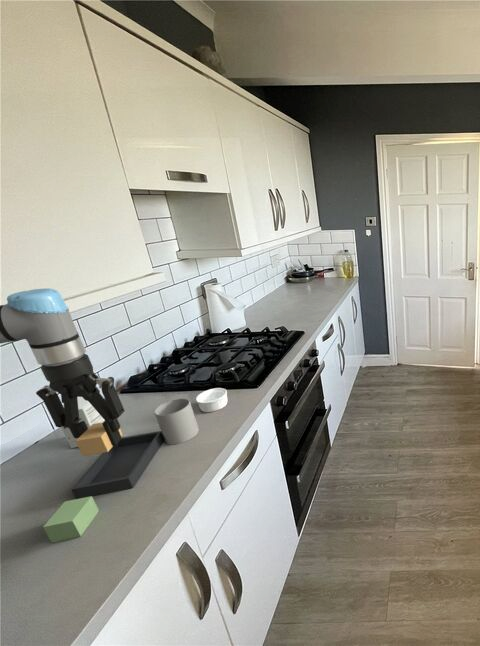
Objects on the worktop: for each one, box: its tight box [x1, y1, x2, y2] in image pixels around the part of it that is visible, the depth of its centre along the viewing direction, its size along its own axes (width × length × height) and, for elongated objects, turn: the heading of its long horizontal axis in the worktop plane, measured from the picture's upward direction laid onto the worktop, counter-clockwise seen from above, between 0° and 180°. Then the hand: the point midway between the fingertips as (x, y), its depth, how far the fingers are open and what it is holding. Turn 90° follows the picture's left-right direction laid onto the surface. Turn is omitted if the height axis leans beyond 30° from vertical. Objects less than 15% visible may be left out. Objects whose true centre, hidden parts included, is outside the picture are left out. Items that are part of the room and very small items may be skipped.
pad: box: [42, 496, 100, 543], centre depth 75 cm, size 5×6×4 cm
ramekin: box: [195, 387, 229, 413], centre depth 116 cm, size 9×9×4 cm
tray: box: [70, 430, 165, 499], centre depth 91 cm, size 12×19×3 cm, turn 16°
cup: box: [154, 398, 200, 445], centre depth 102 cm, size 8×8×10 cm
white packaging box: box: [60, 397, 105, 449], centre depth 100 cm, size 7×7×13 cm
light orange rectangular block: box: [76, 422, 124, 457], centre depth 84 cm, size 5×6×4 cm
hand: (103, 444), depth 85 cm, fingers closed on light orange rectangular block, 5 cm apart
